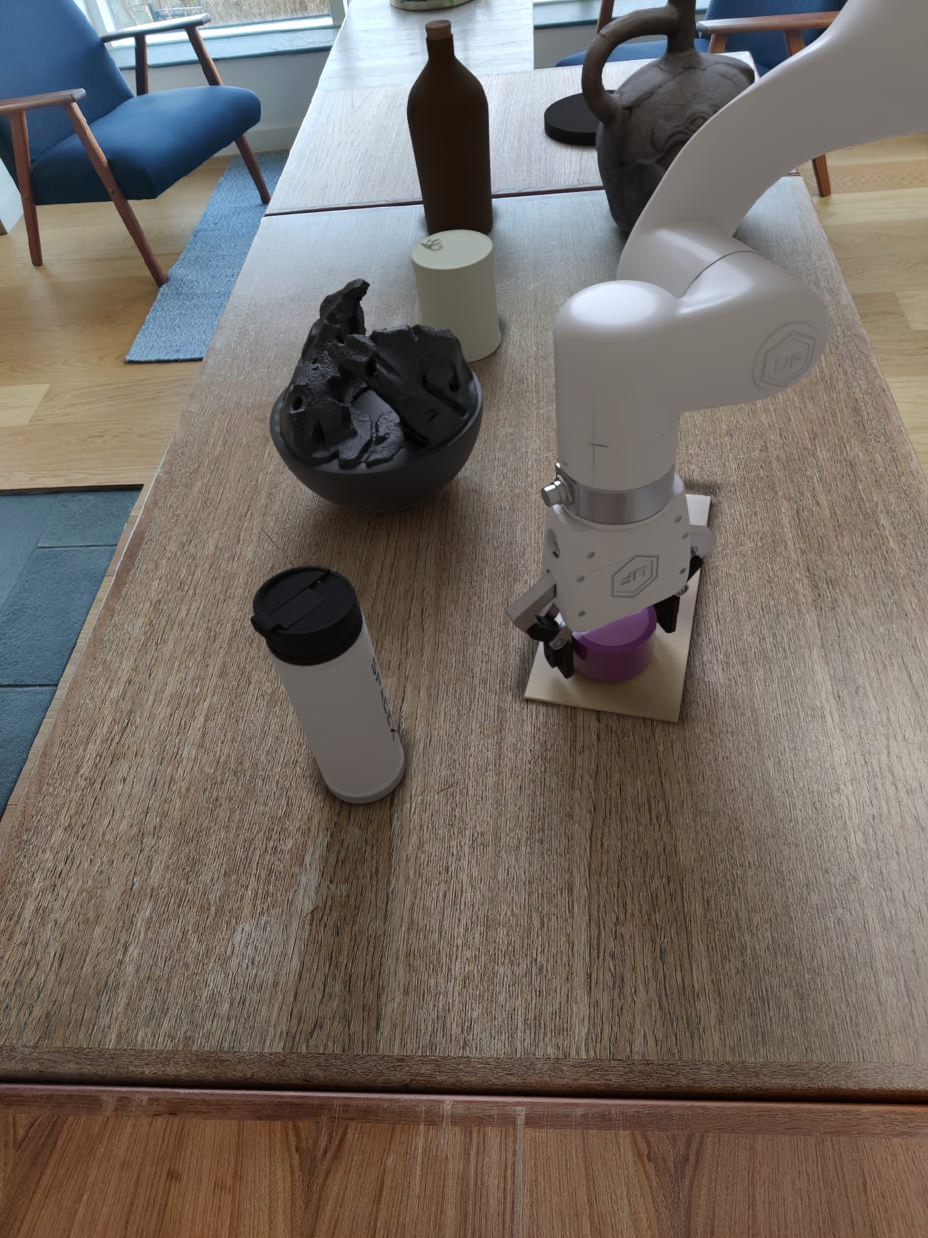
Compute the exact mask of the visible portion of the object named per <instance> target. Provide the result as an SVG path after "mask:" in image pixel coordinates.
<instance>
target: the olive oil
mask: <svg viewBox="0 0 928 1238" xmlns="http://www.w3.org/2000/svg"><path fill="white" fill-rule="evenodd" d="M424 28H425V29H424V30H425V33H426V37H425V45H426V51H427V61H426V63H425V64H424V67H423V68H422V70H421V72H420V73H419V75H418V76H417V78H416V79H415V81H414V83H413V85H412V86H411V88H410V91H409V93H408V97H407V103H406V121H407V125H408V132H409V136H410V141H411V146H412V152H413V157H414V161H415V166H416V168H415V169H416V173H417V178H418V183H419V188H420V189H419V190H420V194H421V195H420V196H421V201H422V206H423V213H424V216H425V217H424V218H425V223H426V231H427V233H428V235H429V236H431V235H433V234H436V233H440V232H444V231H451V230H470V231H475V232H479V233H482V234H484V235H486V234H487V233H489V231H491V229H492V228H493V226H494V213H493V194H492V172H491V171H492V170H491V145H490V143H491V141H490V139H491V137H490V109H489V107H490V106H489V101H488V97H487V94H486V91H485V88H484V86H483V84H482V83H481V81H480V80H479V79H478V77H476V76H475V74H474V73H473V72H472V71H470V70H469V69H468V68H467V67H466V66H465V65H464V64H463V63H462V62H461V61H460V60H459V59H458V58H457V56H456V53H455V42H454V34H453V33H452V22H451V20H449V19H435V20H432V21H429V22H427V23H426V24H425V25H424Z"/></svg>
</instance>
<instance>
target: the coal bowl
mask: <svg viewBox="0 0 928 1238" xmlns="http://www.w3.org/2000/svg"><path fill="white" fill-rule="evenodd" d="M370 286H371V283H370V282H368V281H366V279H364V278H360V277H359V278H356V279H353V280H350V281H348V282H347V283H346V284H345V285H344V287H343V288H341V289H338V290H337V291H335V292H333V293H331V294H328V295H326V296H325V297H324V298H323V300H322V302H321V303H320V305H319V310H318V312H319V318H317V319H316V320H315V321H313V323H312V325H311V327H310V329H309V331H308V334H307V337H306V339H305V342H304V344H303V346H302V348H301V352H300V356H299V358H298V360H297V363H296V365H295V366H294V367H295V368H294V370H293V373H292V376H291V379H290V381H289V382H288V385H287V386H285V388H284V389H283V390H282V391H281V392H280V394H279V396H277V398H276V400H275V402H274V404H273V406H272V408H271V411H270V415H269V433H270V438H271V440H272V442H273V445H274V447H275V449H276V451H277V453H278V455H279V457H280V458H281V460H282V461H283V463H284V465H286V467H287V468H288V470H289V471H290V472H291V474H293V475H294V476H295V478H296V479H297V480H298V481H299V482H300V483H301V484H303V485H304V486H305V487H306V488H307V489H308V490H309V491H311V492H313V493H314V494H316V495H317V496H318V497H320V498H322V499H324V500H325V501H328V502H329V503H332V504H333V505H336V506H339V507H342V508H344V509H349V510H353V511H357V512H364V513H390V512H396V511H401V510H405V509H408V508H411V507H414V506H416V505H418V504H421V503H423V502H426V501H427V500H428V499H430V498H432V497H433V496H435V495H437V494H438V493H440V492H441V491H442V490H443V489H444V488H446V487H447V486H448V485H449V484H450V483H451V482H452V481H453V480H454V479H455V478H456V477H457V475H458V474H459V473H460V472H461V470H462V469H463V468H464V466H465V465H466V463H467V461H468V460H469V459H470V456H471V454H472V452H473V450H474V448H475V446H476V443H477V440H478V437H479V434H480V431H481V425H482V420H483V415H484V414H483V413H484V393H483V388H482V386H481V383H480V380H479V379H478V377H477V375H476V374H475V372H474V371H473V370H472V369H471V367H470V365H469V363H467V361H466V359H465V357H464V355H463V353H462V349H461V344H460V342H459V340H458V338H457V337H456V336H454V334H453V333H452V332H451V331H450V329H449V328H447V327H444V328H433V327H431V326H425V325H423V324H422V323H421V324H420V323H417V324H415V325H412V326H410V325H408V324H402V325H393V326H388V327H385V328H377V329H373V330H372V332H371V334H369V335H367V328H366V326H365V323H366V322H365V312H364V308H363V306H362V304H361V302H362V301H363V298H364V297H365V296H366V295H367V294H368V290H369V289H370V288H369V287H370Z"/></svg>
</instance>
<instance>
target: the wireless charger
mask: <svg viewBox="0 0 928 1238" xmlns="http://www.w3.org/2000/svg"><path fill="white" fill-rule="evenodd" d="M605 90H606V91H607V92H608V93H609V94H613V93H614V92H615V91H616V90H617V89H605ZM543 123H544V124H543V125H544V127H543V128H544V132H545V134H546V136H547V137H549V138H550V139H552V140H554V141H556V142H559V143H562V144H565V145H570V146H571V145H572V146H579V147H596V144H595V138H596V133H597V129H598V126H599V124H600V121H599V120H598V119H597V118H596V117H595V116H594V114H593V113H592V112H591V111H590V109H589V108H588V106H587V104H586V101H585V99H584V97H583V93H582V92H579V93H573V94H570V95H567V96H565V97H562V98H560V99H558V100H556V101H554V102H553V103H551V104H550V105H549V106H548V107H547V108H546V109H545V110H544V113H543Z"/></svg>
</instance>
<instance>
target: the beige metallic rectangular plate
mask: <svg viewBox="0 0 928 1238" xmlns="http://www.w3.org/2000/svg"><path fill="white" fill-rule="evenodd" d="M686 498H687V504H688V511H689V519H690V524H692V525H703V526H707V527H708V520H709V513H710V509H711V508H710V507H711V500H712V499H711V498H712V496H711V495H704V494H703V495H702V494H691V493H686ZM701 568H702V567H701ZM701 568H700V569H699V570H698V571H697V572H696V573H695V574H694V575H693V577H692V578H691V579H690V580H689V581H688V582H687V584H688V585H689V589H688V591H687V592H686V593H685V594H684V595H682V596H680V604H679V612H678V615H677V624H676V631H675V632H672V633H670V634H669V633H666V632H665V631H664V630H663V629H662V628H661V626H660V625H659V624H658V623H657V627H656V639H655V651H654V656H653V659H652V661H651V663H650V664H649V666H648V667H647V668H646V669H645V670H644V671H643V672H642V673H640V674H639V675H637V676H635V677H633V678H631V679H628V680H624V681H619V682H605V681H599V680H595V679H592V678H590V677H588V676H586V675H584V674H582V673H581V672H580V671H578V670H577V669H576V668H575V667H574V674H573V675H572V677H570V678H568V679H565V678H564V676H563V675H562V673H561V672H560V670H559V669H558V668H557V667H555V668H551V666H550V665H549V664H548V662H547V660H546V658H545V655H544V647H543V642H541V641H538V642H539V643H538V646H537V650H536V653H535V655H534V656H535V657H534V660H533V664H532V666H531V671H530V674H529V677H528V681H527V685H526V688H525V692H524V695H523V698H524V699H525V700H532V701H537V702H544V703H550V704H556V705H562V706H569V707H574V708H579V709H580V708H582V709H587V710H593V709H594V711H600V712H605V711H607V712H606V713H611V712H612V714H617V715H624V716H630V717H635V718H636V717H637V718H642V719H643V718H644V719H648V720H649V719H650V720H655V721H661V722H668V723H673V724H678V723H679V719H680V718H679V717H680V712H681V704H682V697H683V692H684V685H685V684H684V683H685V677H686V672H687V671H686V670H687V664H688V656H689V651H690V645H691V638H692V637H691V635H692V630H693V622H694V617H695V610H696V602H697V595H698V589H699V583H700V577H701V576H700V575H701ZM555 620H556V621H557V622H558V624H559V625H560V623H561V622H562V617H561V614H560V612H559V614H558V615H557V617H556V618H555Z"/></svg>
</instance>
